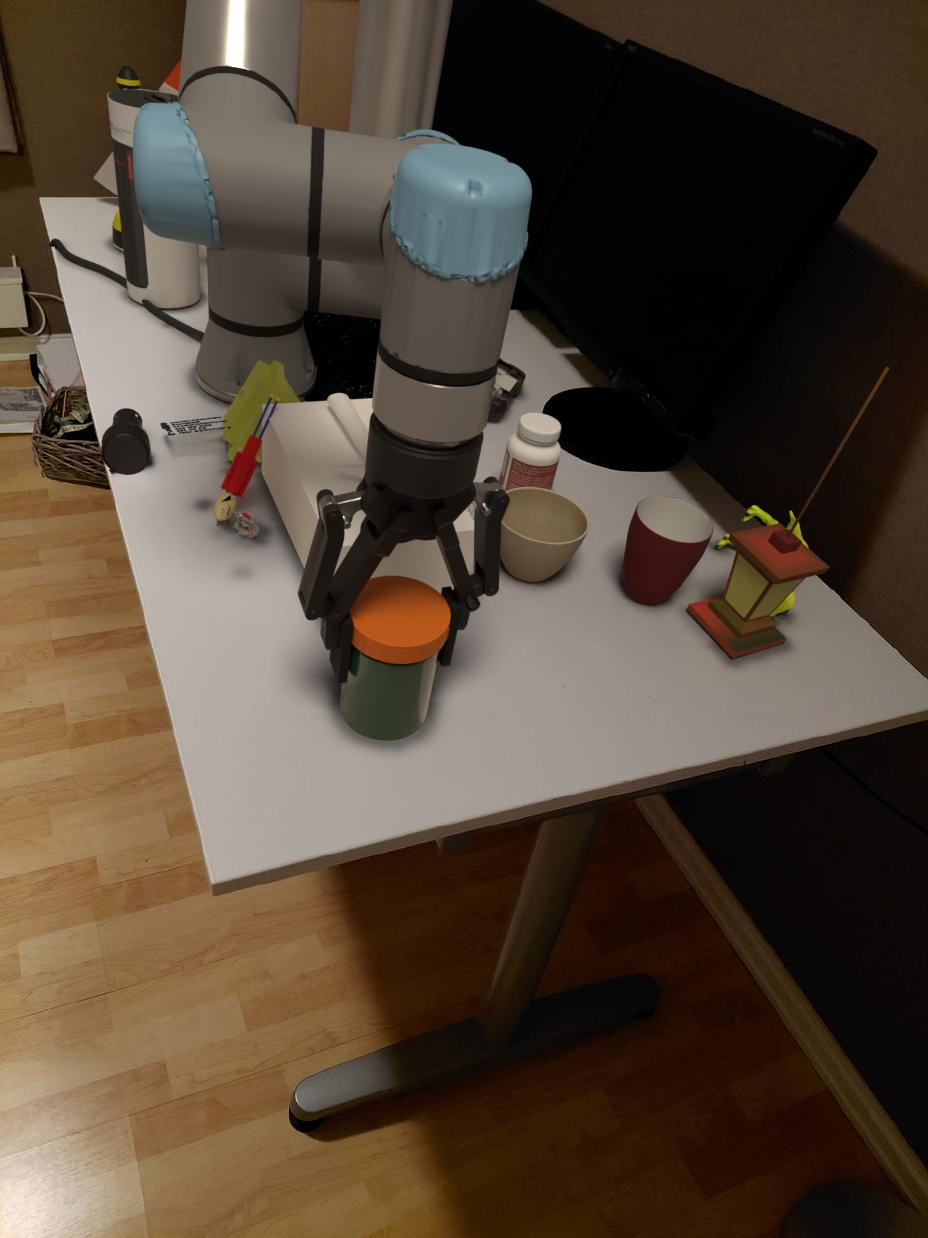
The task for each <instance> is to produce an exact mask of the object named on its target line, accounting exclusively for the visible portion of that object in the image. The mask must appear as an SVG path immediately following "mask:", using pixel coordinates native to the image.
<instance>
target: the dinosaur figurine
mask: <svg viewBox="0 0 928 1238" xmlns="http://www.w3.org/2000/svg"><path fill="white" fill-rule="evenodd" d="M788 512H789V519H790V522H788V524H787V527H785V528H786V529H789V530H790V529H791V528H792V526H793V524H794V523H795V521H796V519H797V517H795V515H794V513H793V511H792V510H789V511H788ZM753 517H758V518H759V519H761V521H762V522H763V524H765V526H768V525H773V524H778V523H779V521H778V520H776V519H774V518H773V517H772V516H771V515H770V514H769V513H768V512H765V511H764V510H763V509H761V508H760V507H759V506H758V505H752V506H750V507H749V508H746V512H745V513H744V514H743V515H742V519H741V521H743V522H747V521H748V520H750V519H752V518H753ZM800 525H801V524H800V521H799V522H798V524H797V525H796V527H795V529H794V530H793V532H792V533H794V534H795V535H796V536H797V537H798V538H799V539H800V540H801V541H802V543H803V544H804V545H805V546H806V547H808V548H809V546H808V543H807V542H806V541H805V540H804V538H803V536H802V532H801V526H800ZM729 536H730V533H727V532H725V533H723V537H722V538H720V539H719V540H717V541H716V547H717V550H720V549H723V548H724V546H726V545H733V544H732V543H731V542H730V541H729V540H728V539H729ZM795 600H796V595H795V592H794V591H793V592H792V593H791V594H790V595H789V596H788V597H787V598H786V599H785V600H784V601H783V602H782V603H781V604H780V605H779V606H778V607H777V608H776V609H775V610H774V611H773V613H772V614H771V615H770V616H769V617H770V618H772V617H774V616H776V615H777V614H783V613H785V612H786V611H787V610H790V609H792V608H793V607H794V603H795Z"/></svg>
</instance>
